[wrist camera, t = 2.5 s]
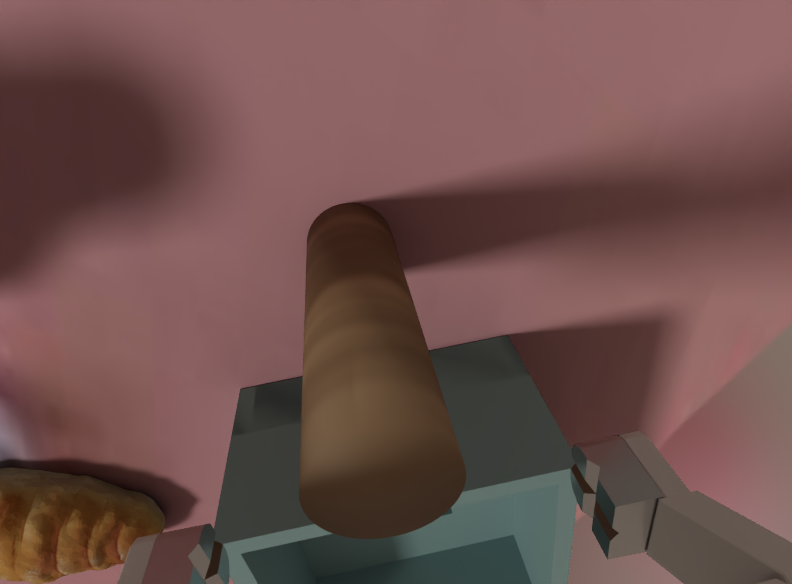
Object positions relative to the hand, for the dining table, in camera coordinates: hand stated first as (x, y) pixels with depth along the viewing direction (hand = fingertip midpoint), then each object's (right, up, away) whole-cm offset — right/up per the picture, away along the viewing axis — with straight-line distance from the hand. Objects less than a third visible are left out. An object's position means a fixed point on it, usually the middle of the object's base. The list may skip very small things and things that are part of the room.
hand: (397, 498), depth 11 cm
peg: (-2, +7, +10) cm, 12 cm away
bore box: (0, -5, +17) cm, 18 cm away
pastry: (-18, -7, +16) cm, 25 cm away
